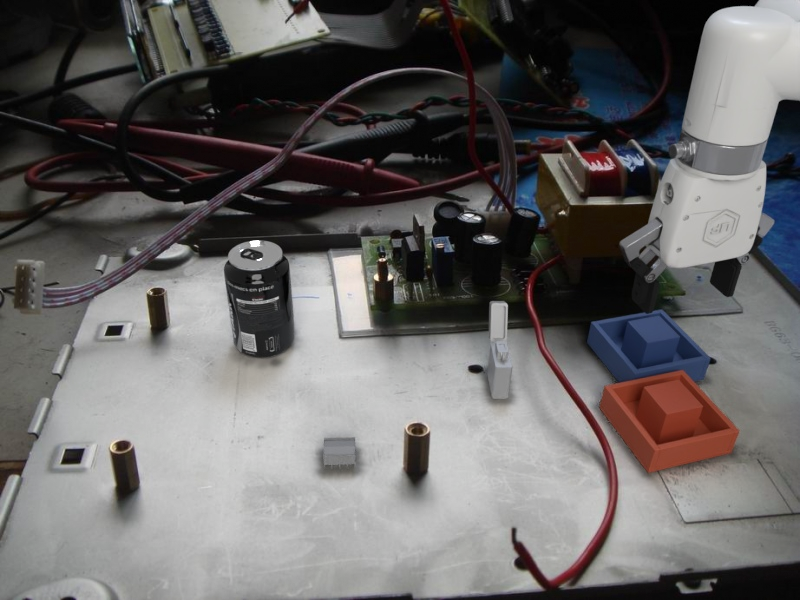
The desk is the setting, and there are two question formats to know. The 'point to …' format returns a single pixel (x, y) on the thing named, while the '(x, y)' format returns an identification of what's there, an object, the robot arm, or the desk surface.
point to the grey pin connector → (339, 451)
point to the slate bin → (608, 348)
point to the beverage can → (260, 299)
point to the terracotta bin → (707, 441)
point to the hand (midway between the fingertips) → (681, 297)
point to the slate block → (649, 342)
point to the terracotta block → (668, 411)
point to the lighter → (499, 351)
